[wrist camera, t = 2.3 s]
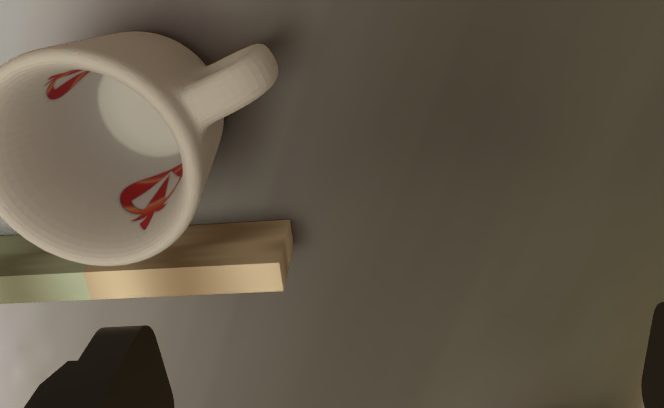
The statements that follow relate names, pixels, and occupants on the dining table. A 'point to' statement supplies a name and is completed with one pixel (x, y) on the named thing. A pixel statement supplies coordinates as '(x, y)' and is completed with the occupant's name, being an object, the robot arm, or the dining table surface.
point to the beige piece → (156, 267)
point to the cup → (115, 140)
